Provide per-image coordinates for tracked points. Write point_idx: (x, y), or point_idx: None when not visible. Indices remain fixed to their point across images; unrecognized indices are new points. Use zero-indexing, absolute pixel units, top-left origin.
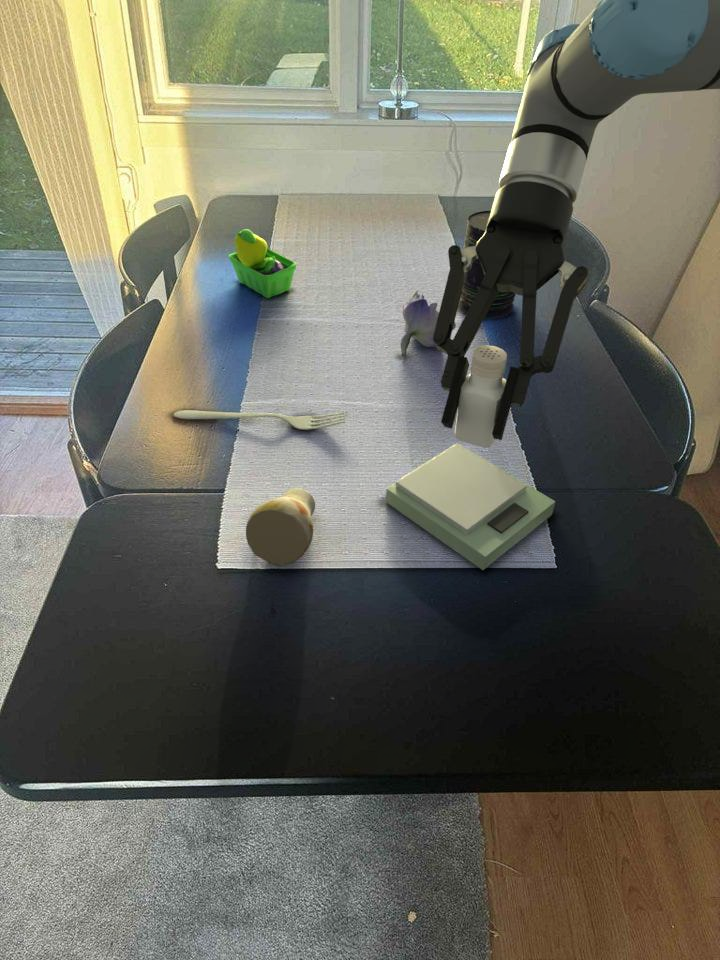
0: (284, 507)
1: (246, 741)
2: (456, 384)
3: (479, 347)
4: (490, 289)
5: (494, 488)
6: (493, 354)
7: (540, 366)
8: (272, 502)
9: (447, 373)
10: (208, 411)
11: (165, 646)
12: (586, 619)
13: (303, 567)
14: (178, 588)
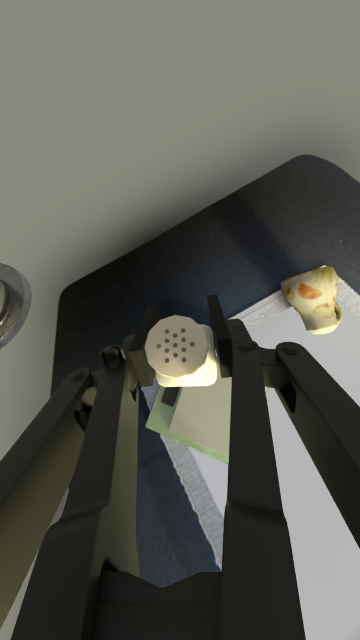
0: (315, 274)
1: (233, 205)
2: (215, 315)
3: (200, 356)
4: (232, 507)
5: (191, 412)
6: (168, 345)
7: (95, 374)
8: (328, 275)
9: (238, 329)
10: None
11: (303, 216)
12: (114, 340)
13: (277, 292)
14: (331, 243)
